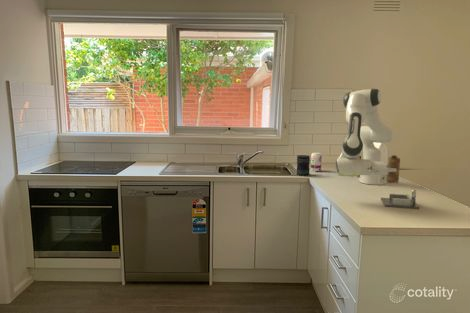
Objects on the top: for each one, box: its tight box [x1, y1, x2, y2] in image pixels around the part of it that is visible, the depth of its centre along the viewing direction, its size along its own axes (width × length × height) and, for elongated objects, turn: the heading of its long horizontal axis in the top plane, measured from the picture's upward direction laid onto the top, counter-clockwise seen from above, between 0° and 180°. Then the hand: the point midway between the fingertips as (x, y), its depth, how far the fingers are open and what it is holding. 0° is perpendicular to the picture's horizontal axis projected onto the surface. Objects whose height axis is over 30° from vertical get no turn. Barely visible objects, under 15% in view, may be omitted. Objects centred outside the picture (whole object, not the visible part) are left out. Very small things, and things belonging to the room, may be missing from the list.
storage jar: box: [296, 154, 311, 177], centre depth 245 cm, size 10×10×15 cm
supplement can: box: [310, 152, 323, 172], centre depth 260 cm, size 8×8×15 cm
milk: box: [373, 142, 388, 165], centre depth 264 cm, size 12×12×26 cm
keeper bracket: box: [380, 189, 420, 210], centre depth 169 cm, size 16×14×8 cm
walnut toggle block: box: [386, 154, 401, 184], centre depth 168 cm, size 5×5×14 cm
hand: (395, 168), depth 167 cm, fingers closed on walnut toggle block, 5 cm apart
